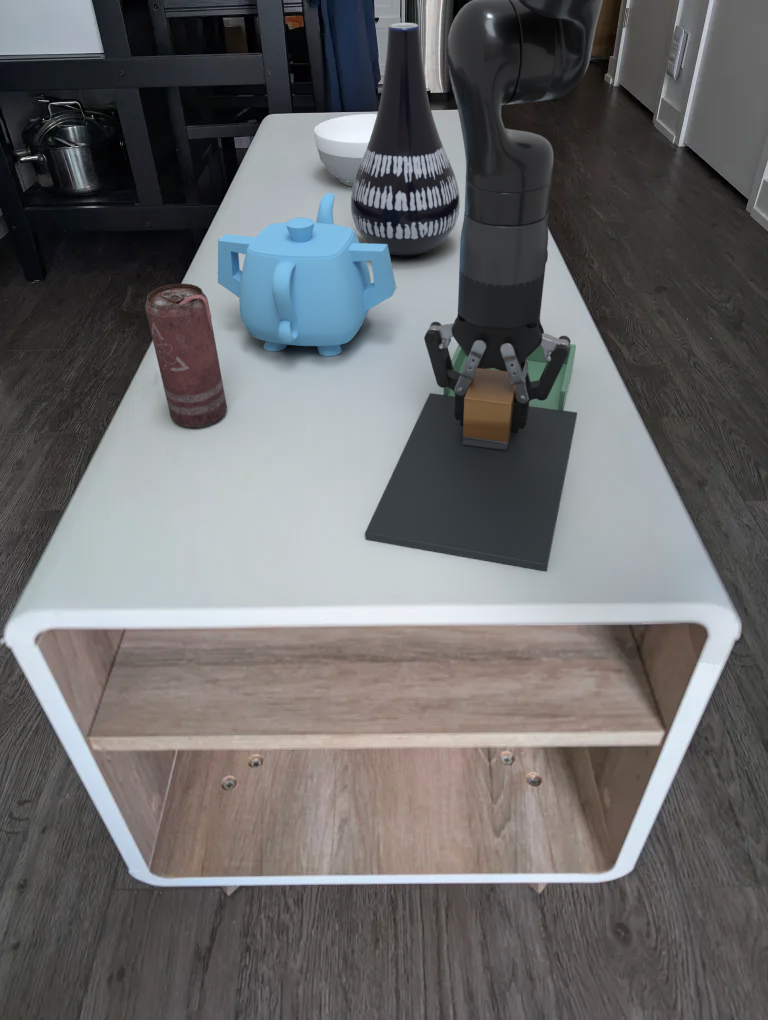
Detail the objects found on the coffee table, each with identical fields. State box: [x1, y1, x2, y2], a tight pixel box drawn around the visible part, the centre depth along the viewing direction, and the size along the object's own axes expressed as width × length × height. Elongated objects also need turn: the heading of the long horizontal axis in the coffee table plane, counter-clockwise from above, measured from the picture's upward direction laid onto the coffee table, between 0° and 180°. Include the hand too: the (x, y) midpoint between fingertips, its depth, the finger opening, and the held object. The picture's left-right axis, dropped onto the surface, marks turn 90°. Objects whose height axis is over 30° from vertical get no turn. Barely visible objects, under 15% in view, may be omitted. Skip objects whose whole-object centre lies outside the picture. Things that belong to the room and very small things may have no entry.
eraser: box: [462, 368, 515, 451], centre depth 80 cm, size 6×4×6 cm
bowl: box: [313, 113, 377, 188], centre depth 144 cm, size 19×19×9 cm
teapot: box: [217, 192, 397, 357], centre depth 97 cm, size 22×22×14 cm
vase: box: [350, 22, 461, 260], centre depth 111 cm, size 16×16×30 cm
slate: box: [364, 392, 578, 572], centre depth 77 cm, size 24×16×1 cm, turn 164°
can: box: [144, 283, 228, 429], centre depth 82 cm, size 6×6×14 cm
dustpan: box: [443, 343, 577, 411], centre depth 93 cm, size 19×13×3 cm
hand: (490, 424), depth 81 cm, fingers closed on eraser, 4 cm apart
